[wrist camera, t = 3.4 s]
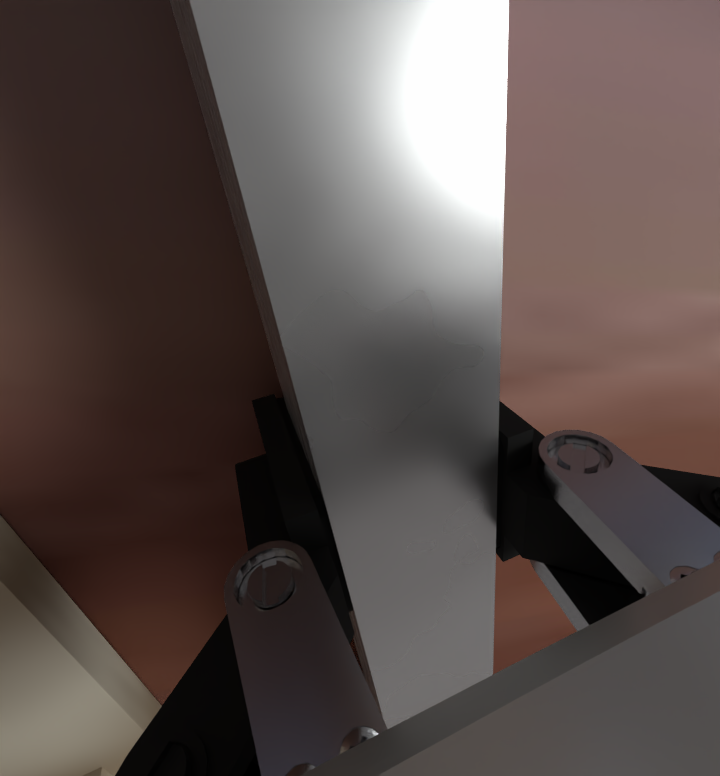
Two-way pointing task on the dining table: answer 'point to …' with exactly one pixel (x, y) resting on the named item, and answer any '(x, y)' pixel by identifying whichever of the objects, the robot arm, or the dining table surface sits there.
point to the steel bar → (378, 293)
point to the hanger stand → (59, 679)
